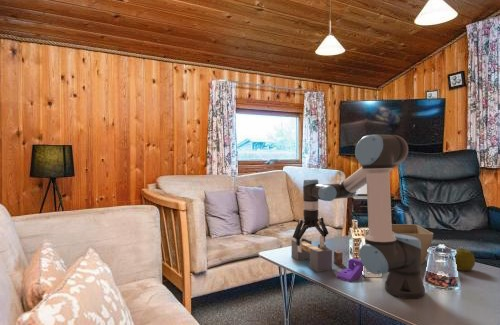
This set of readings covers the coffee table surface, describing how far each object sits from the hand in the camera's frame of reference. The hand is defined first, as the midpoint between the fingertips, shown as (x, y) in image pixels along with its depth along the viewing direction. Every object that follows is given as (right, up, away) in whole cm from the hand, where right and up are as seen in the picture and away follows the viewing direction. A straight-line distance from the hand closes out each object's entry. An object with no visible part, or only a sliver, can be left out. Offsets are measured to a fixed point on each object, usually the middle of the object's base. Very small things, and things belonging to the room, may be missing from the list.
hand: (311, 250), depth 176 cm
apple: (+71, -7, -11) cm, 73 cm away
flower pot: (+50, -6, +3) cm, 51 cm away
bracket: (+15, -8, -18) cm, 25 cm away
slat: (0, -1, 0) cm, 1 cm away
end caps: (0, -7, +1) cm, 7 cm away
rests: (+11, -6, +5) cm, 14 cm away
